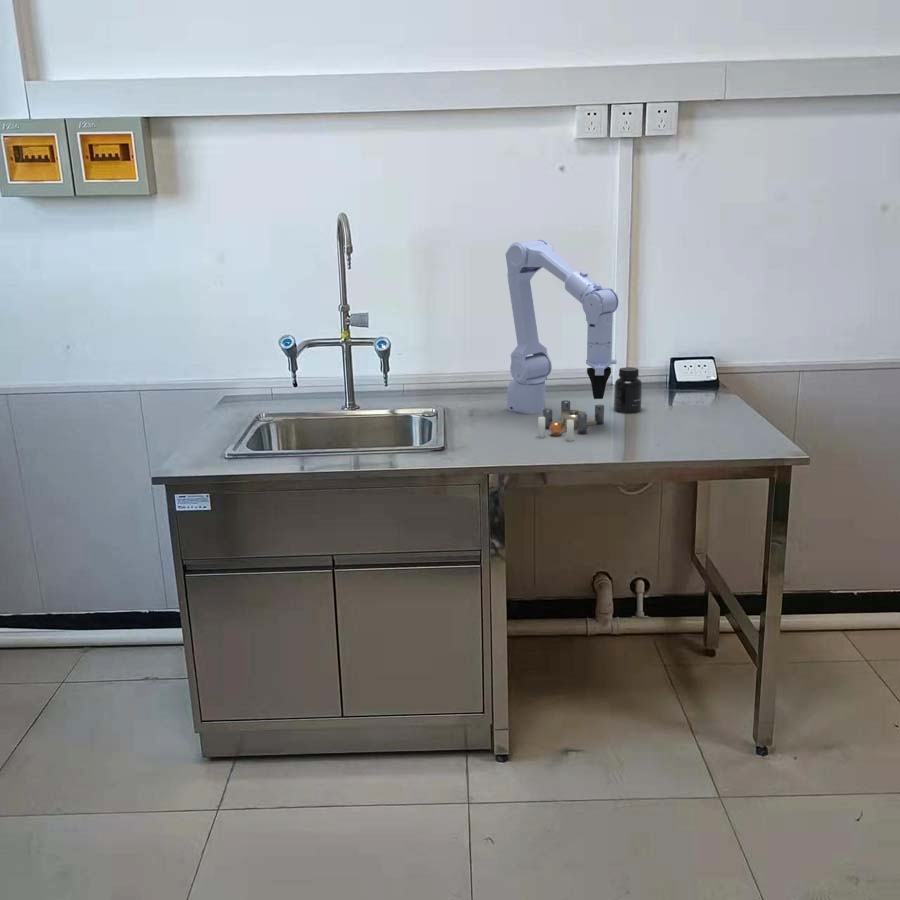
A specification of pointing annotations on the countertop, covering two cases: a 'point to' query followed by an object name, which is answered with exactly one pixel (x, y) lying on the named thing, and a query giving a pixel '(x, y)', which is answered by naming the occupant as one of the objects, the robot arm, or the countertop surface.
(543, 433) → the white rounded posts
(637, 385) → the supplement bottle
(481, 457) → the countertop surface
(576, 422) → the capstan
